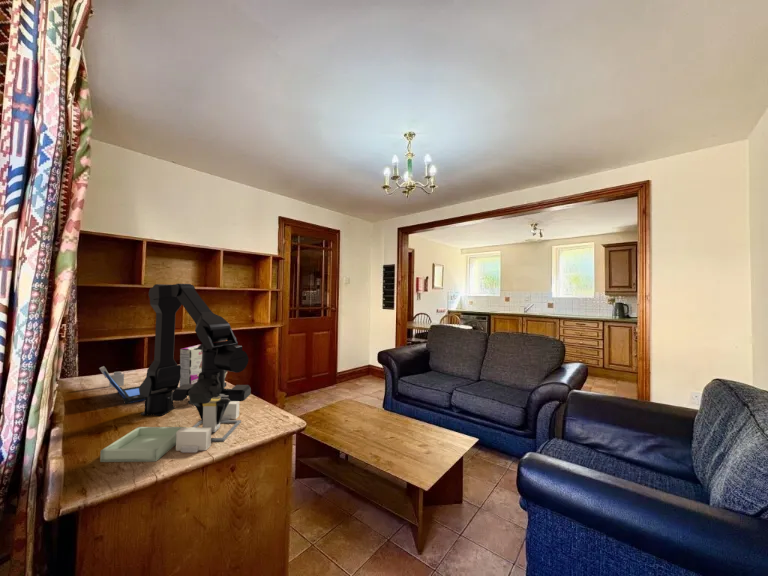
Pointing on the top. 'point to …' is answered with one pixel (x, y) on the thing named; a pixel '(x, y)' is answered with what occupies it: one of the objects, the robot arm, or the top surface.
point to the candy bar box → (190, 364)
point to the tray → (141, 445)
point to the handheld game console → (127, 392)
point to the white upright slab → (114, 377)
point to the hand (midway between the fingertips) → (211, 423)
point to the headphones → (205, 432)
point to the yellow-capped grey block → (210, 415)
